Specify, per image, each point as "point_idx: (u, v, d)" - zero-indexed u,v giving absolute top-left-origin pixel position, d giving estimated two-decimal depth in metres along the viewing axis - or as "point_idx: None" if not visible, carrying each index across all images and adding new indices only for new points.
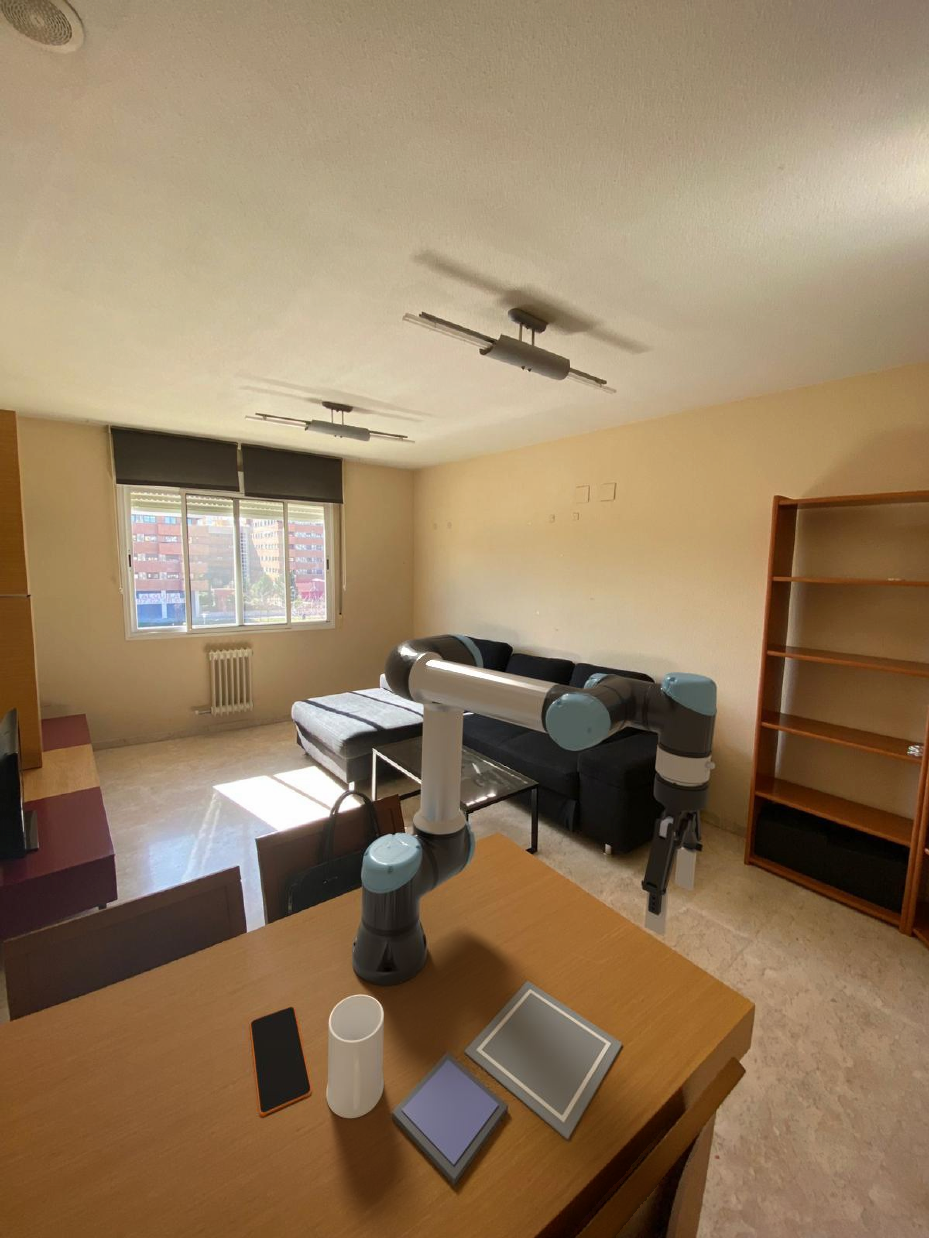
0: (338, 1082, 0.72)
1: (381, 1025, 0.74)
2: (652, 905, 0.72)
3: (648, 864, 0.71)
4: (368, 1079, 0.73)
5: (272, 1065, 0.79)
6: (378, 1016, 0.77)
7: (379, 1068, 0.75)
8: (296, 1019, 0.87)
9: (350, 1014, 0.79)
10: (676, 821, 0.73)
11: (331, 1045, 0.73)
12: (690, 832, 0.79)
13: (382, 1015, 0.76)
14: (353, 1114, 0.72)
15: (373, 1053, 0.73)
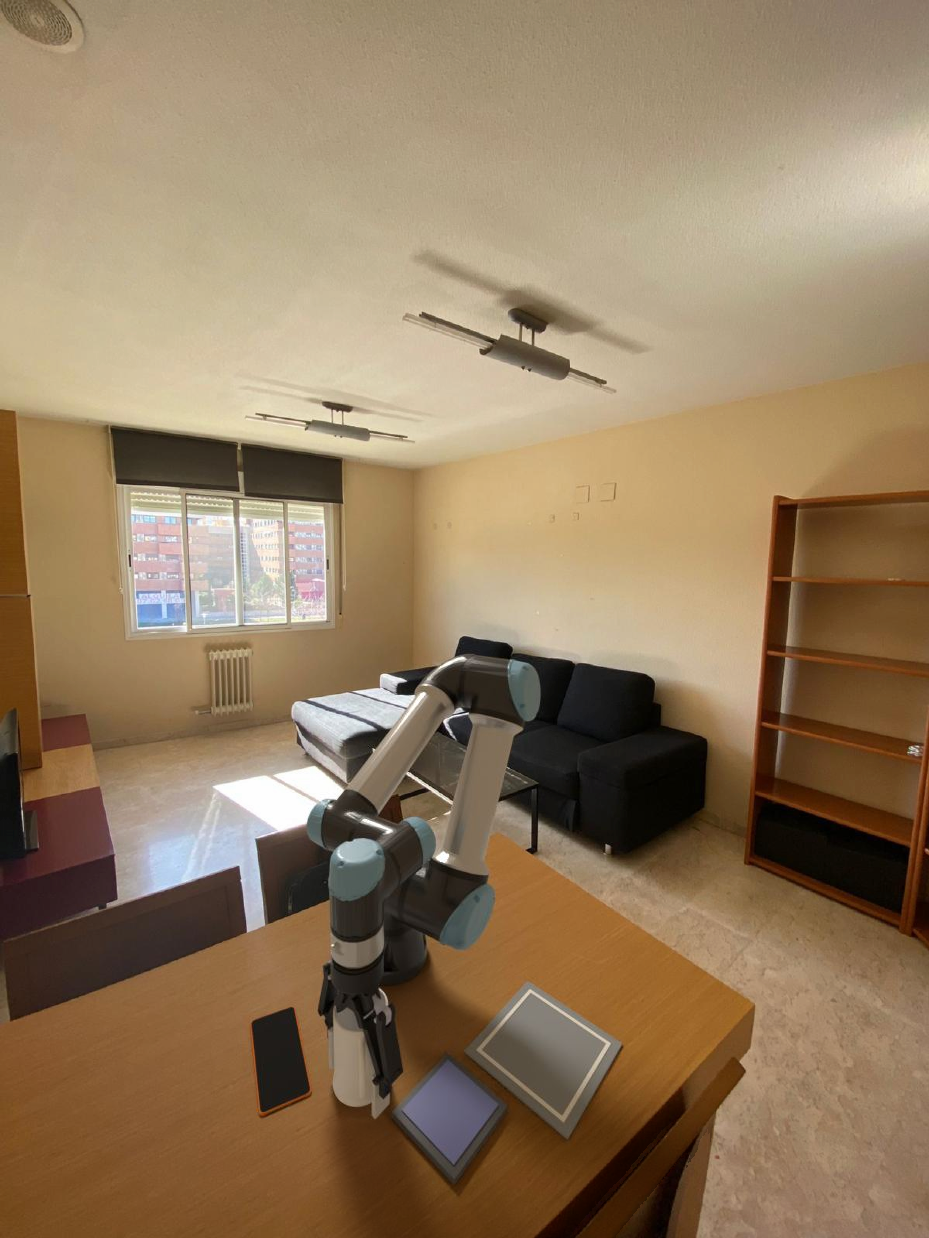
0: (344, 1071, 0.73)
1: None
2: None
3: None
4: None
5: (271, 1065, 0.79)
6: None
7: None
8: (296, 1019, 0.87)
9: None
10: None
11: (336, 1035, 0.73)
12: (363, 1030, 0.71)
13: (386, 1005, 0.76)
14: (359, 1103, 0.73)
15: None
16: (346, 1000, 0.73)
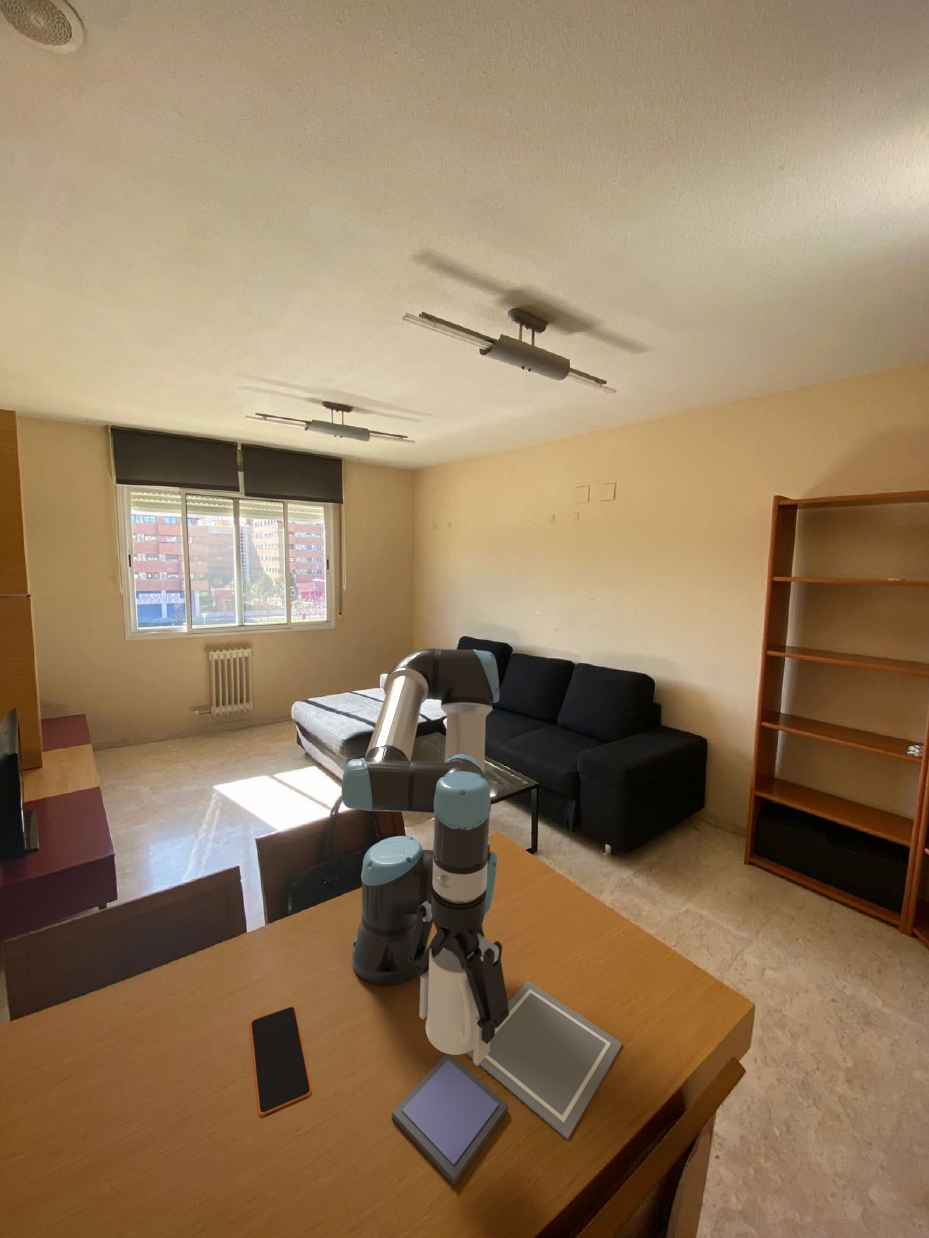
0: (442, 1016, 0.69)
1: None
2: None
3: None
4: (473, 1014, 0.70)
5: (271, 1065, 0.79)
6: None
7: None
8: (296, 1019, 0.87)
9: (447, 951, 0.75)
10: None
11: (434, 978, 0.70)
12: (466, 971, 0.68)
13: None
14: (458, 1050, 0.69)
15: None
16: (445, 941, 0.70)
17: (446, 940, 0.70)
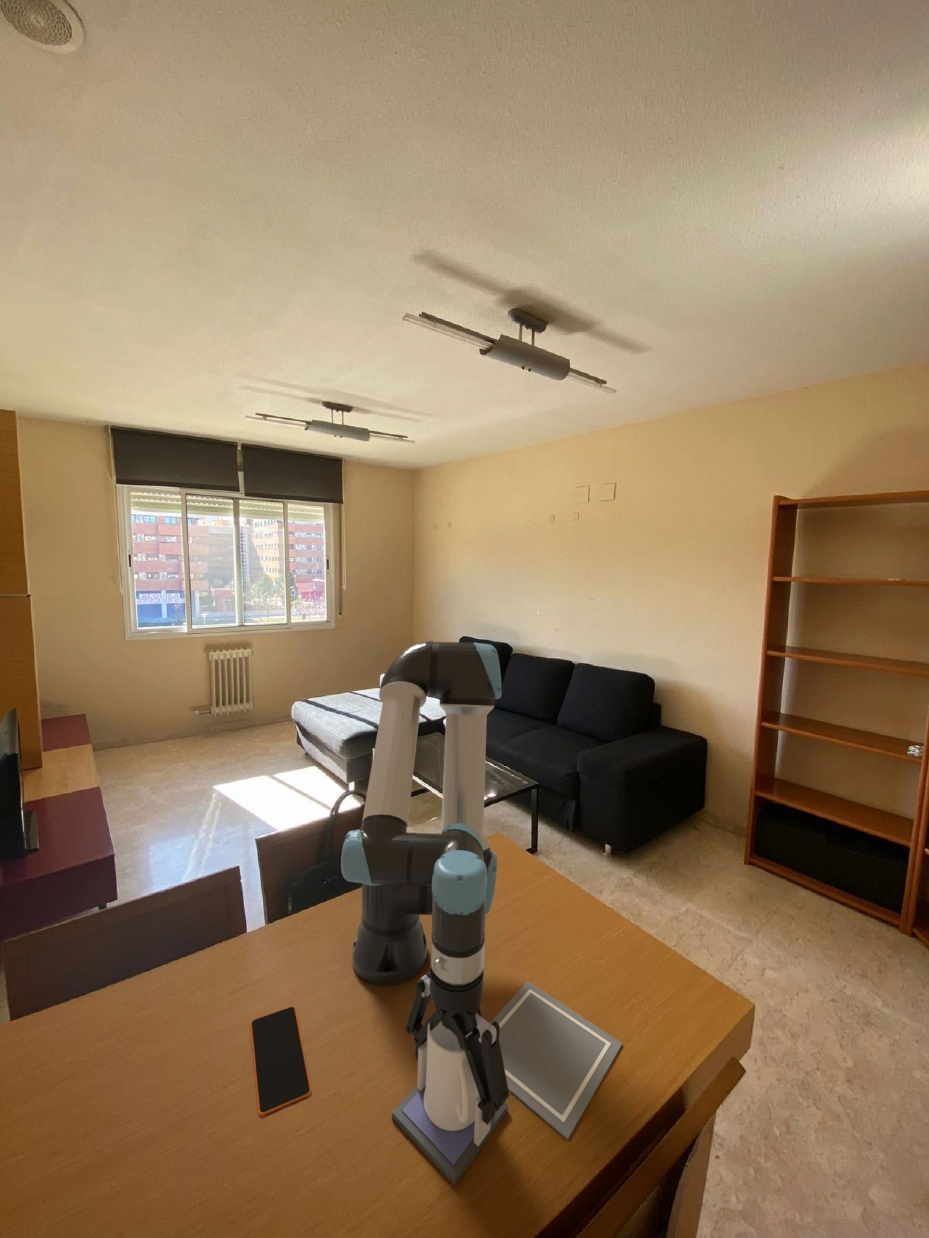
0: (440, 1094, 0.70)
1: None
2: None
3: None
4: (470, 1091, 0.71)
5: (271, 1065, 0.79)
6: None
7: None
8: (296, 1019, 0.87)
9: None
10: None
11: (432, 1055, 0.71)
12: (465, 1051, 0.69)
13: None
14: (456, 1127, 0.70)
15: None
16: (443, 1019, 0.72)
17: (444, 1018, 0.71)
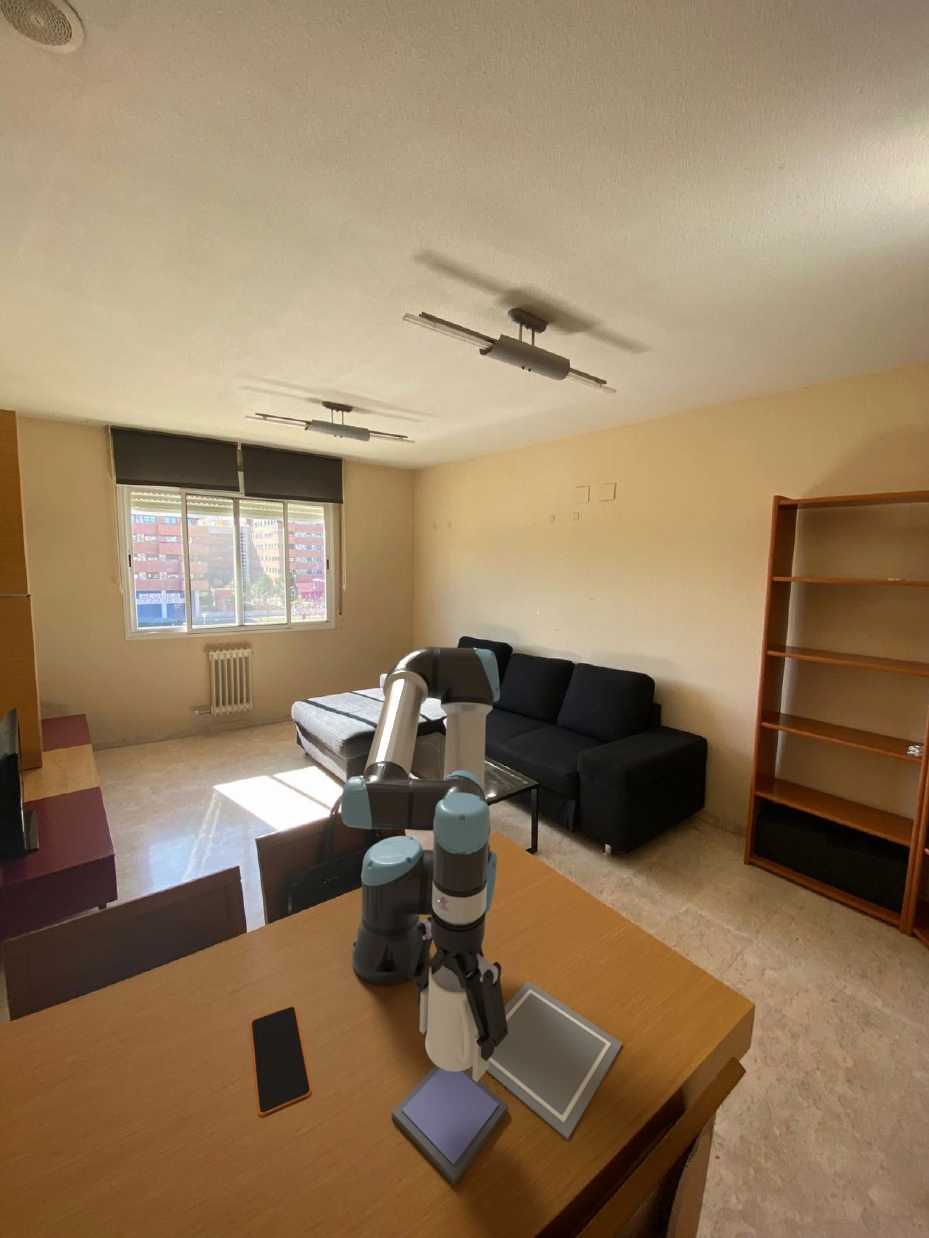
0: (442, 1035, 0.70)
1: None
2: None
3: None
4: (472, 1032, 0.70)
5: (271, 1065, 0.79)
6: None
7: None
8: (296, 1019, 0.87)
9: (446, 968, 0.76)
10: None
11: (434, 997, 0.70)
12: (465, 990, 0.69)
13: None
14: (457, 1067, 0.70)
15: None
16: (445, 960, 0.71)
17: (446, 959, 0.71)
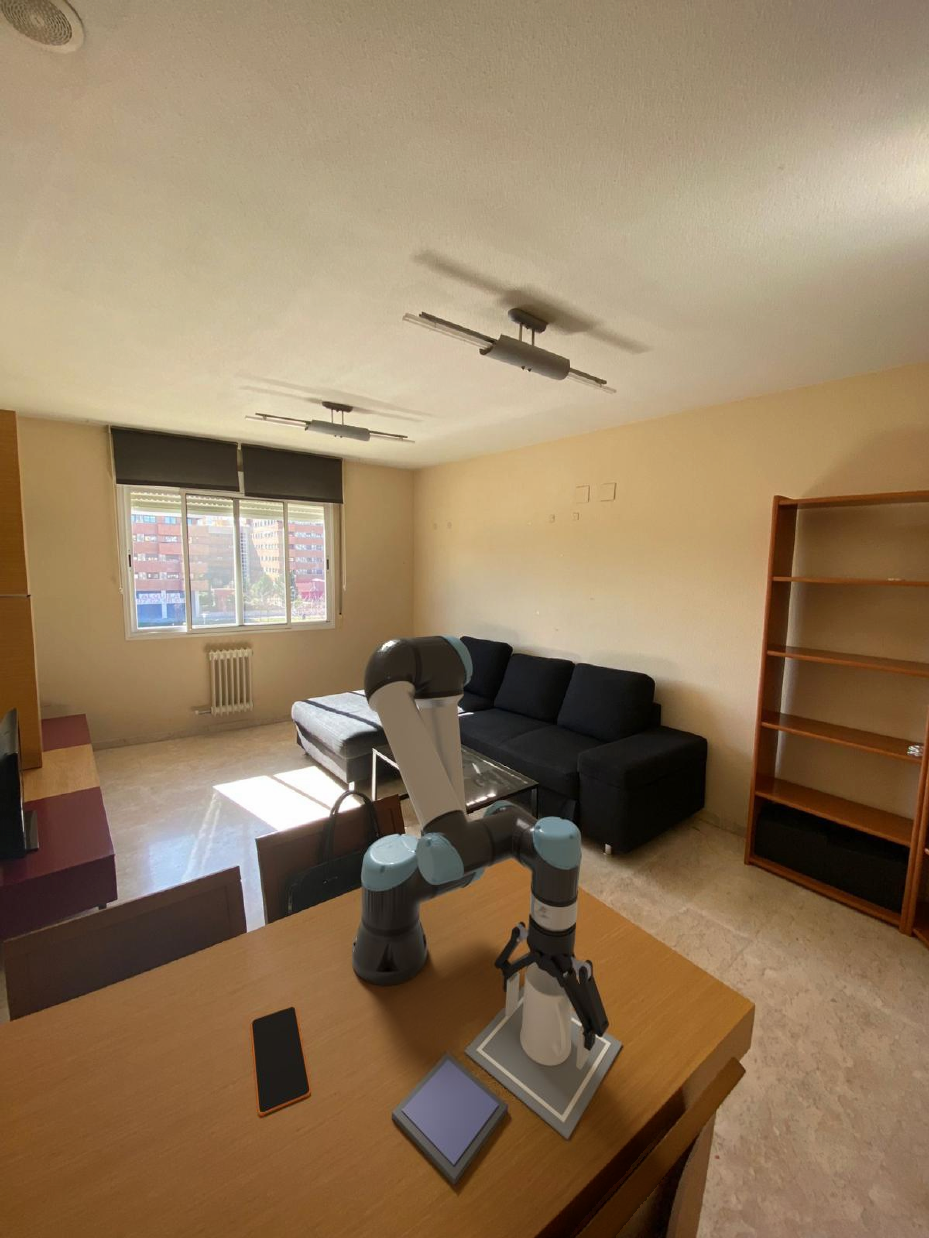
0: (538, 1033, 0.81)
1: None
2: None
3: None
4: None
5: (271, 1065, 0.79)
6: None
7: (570, 1023, 0.83)
8: (297, 1019, 0.87)
9: (537, 975, 0.87)
10: (527, 937, 0.84)
11: (531, 999, 0.81)
12: (564, 989, 0.79)
13: None
14: (552, 1062, 0.81)
15: (568, 1008, 0.81)
16: (538, 961, 0.82)
17: (539, 961, 0.82)
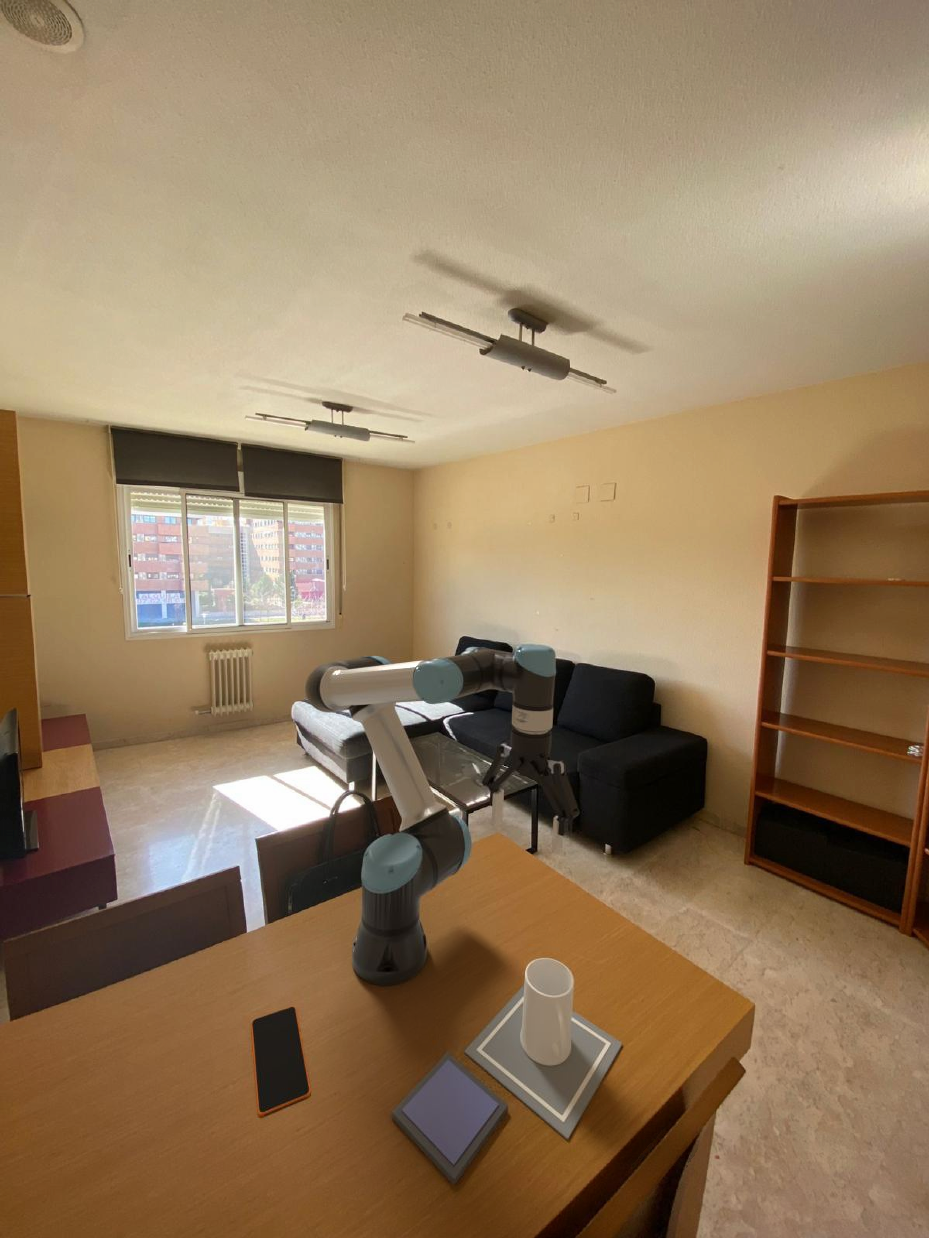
0: (538, 1033, 0.81)
1: (573, 984, 0.83)
2: None
3: None
4: None
5: (271, 1065, 0.79)
6: (565, 977, 0.86)
7: (570, 1023, 0.83)
8: (297, 1019, 0.87)
9: (537, 975, 0.87)
10: (510, 751, 0.96)
11: (531, 999, 0.81)
12: (541, 786, 0.92)
13: (572, 976, 0.84)
14: (552, 1062, 0.81)
15: (568, 1008, 0.81)
16: (519, 769, 0.95)
17: (520, 768, 0.95)
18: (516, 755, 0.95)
